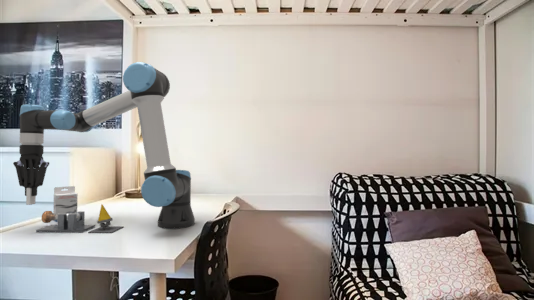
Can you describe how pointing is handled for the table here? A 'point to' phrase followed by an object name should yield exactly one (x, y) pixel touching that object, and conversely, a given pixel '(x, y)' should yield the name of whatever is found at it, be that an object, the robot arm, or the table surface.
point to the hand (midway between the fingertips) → (30, 204)
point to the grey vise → (68, 224)
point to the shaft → (56, 216)
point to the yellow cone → (104, 218)
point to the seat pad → (108, 230)
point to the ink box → (65, 199)
